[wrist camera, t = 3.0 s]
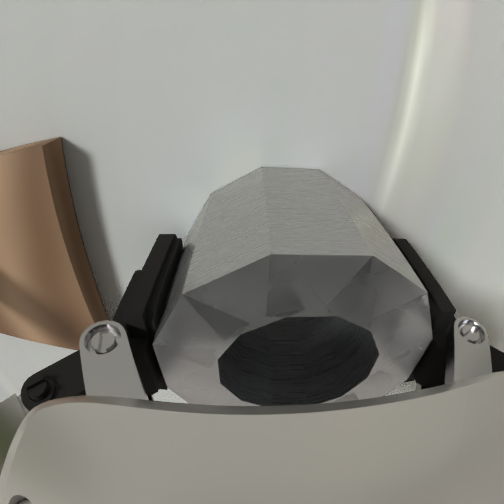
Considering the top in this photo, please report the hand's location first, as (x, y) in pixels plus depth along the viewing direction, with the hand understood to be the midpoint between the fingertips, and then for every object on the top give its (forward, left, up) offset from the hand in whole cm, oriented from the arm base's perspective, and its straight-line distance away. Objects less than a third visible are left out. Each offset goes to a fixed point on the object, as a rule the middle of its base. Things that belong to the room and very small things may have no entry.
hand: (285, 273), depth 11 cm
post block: (+15, 0, -1) cm, 15 cm away
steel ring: (0, 0, -1) cm, 1 cm away
